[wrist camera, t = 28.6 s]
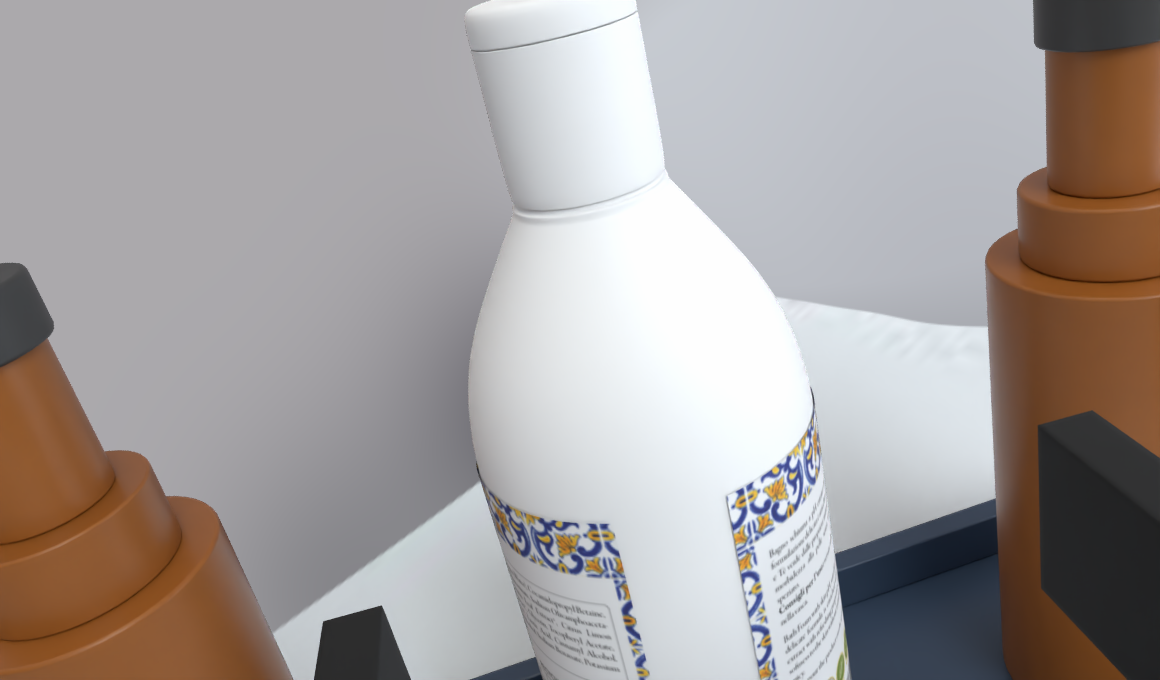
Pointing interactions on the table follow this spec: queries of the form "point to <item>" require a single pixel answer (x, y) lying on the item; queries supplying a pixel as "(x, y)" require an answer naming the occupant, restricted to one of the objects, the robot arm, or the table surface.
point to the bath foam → (636, 386)
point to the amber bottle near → (104, 541)
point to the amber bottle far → (1076, 296)
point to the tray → (912, 603)
